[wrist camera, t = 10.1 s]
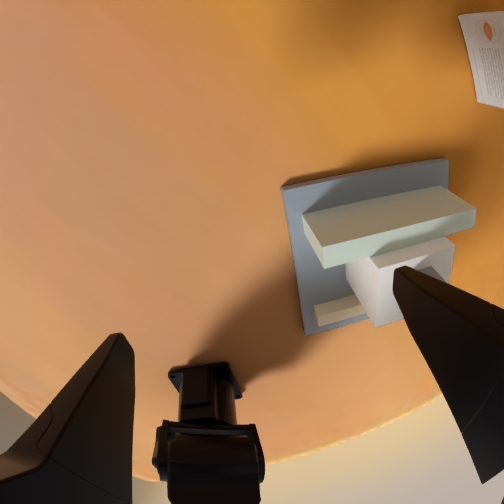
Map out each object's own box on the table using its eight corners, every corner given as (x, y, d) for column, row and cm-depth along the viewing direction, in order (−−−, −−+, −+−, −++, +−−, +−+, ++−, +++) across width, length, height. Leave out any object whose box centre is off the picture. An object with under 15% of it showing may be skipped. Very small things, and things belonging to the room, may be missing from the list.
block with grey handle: (407, 261, 24) (472, 339, 16) (345, 278, 24) (398, 372, 16) (410, 208, 22) (492, 279, 13) (342, 224, 22) (411, 313, 13)
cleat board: (431, 291, 28) (458, 325, 23) (304, 330, 28) (318, 375, 23) (443, 157, 21) (488, 180, 16) (280, 187, 21) (300, 219, 16)
